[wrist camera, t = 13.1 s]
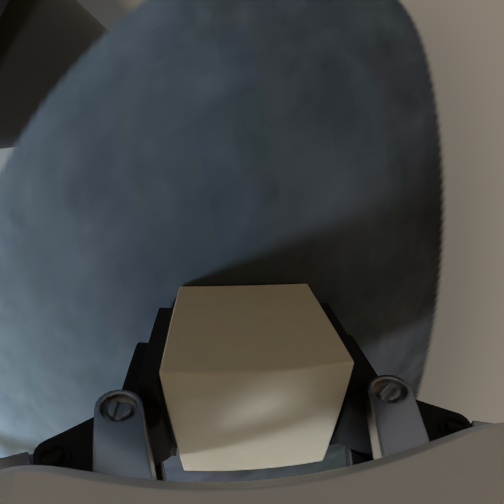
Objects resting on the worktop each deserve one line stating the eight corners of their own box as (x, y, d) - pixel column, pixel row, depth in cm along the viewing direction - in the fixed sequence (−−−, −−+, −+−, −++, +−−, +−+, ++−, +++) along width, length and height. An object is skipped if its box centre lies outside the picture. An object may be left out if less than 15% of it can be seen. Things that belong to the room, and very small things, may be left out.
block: (189, 381, 12) (183, 471, 7) (178, 285, 10) (158, 373, 6) (295, 377, 12) (323, 461, 8) (307, 282, 11) (355, 362, 6)
